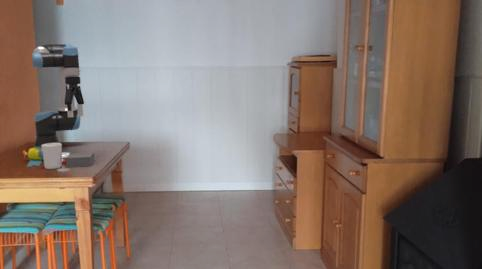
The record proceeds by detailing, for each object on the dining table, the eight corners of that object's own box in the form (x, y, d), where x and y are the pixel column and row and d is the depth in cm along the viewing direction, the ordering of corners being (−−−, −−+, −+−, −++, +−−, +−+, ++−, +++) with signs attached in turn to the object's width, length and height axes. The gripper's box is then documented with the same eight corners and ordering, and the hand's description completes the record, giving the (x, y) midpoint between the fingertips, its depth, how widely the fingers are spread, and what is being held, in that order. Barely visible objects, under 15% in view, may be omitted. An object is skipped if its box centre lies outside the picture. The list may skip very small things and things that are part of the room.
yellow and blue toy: (26, 142, 259) (55, 141, 263) (27, 157, 260) (55, 155, 265) (18, 151, 232) (49, 150, 237) (19, 168, 234) (50, 166, 238)
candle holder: (51, 170, 226) (49, 146, 224) (39, 168, 231) (37, 145, 229) (67, 166, 234) (65, 143, 232) (55, 164, 240) (53, 142, 238)
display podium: (71, 162, 244) (71, 153, 243) (94, 161, 245) (93, 152, 245) (66, 167, 232) (65, 157, 231) (90, 166, 234) (90, 156, 233)
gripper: (70, 74, 224) (73, 117, 225) (88, 77, 248) (91, 115, 250) (55, 75, 224) (58, 118, 225) (74, 78, 249) (77, 116, 250)
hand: (75, 116), depth 238 cm, fingers open, 13 cm apart
